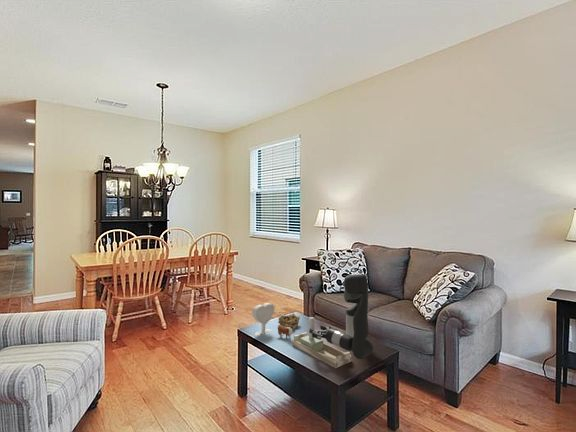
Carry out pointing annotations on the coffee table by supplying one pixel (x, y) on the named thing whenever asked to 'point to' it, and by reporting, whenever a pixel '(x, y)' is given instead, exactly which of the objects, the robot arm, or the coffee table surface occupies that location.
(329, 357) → the bay
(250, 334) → the coffee table surface
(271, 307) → the heart sculpture
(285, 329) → the bull figurine
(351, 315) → the robot arm
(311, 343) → the green block with post
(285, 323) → the mineral formation
